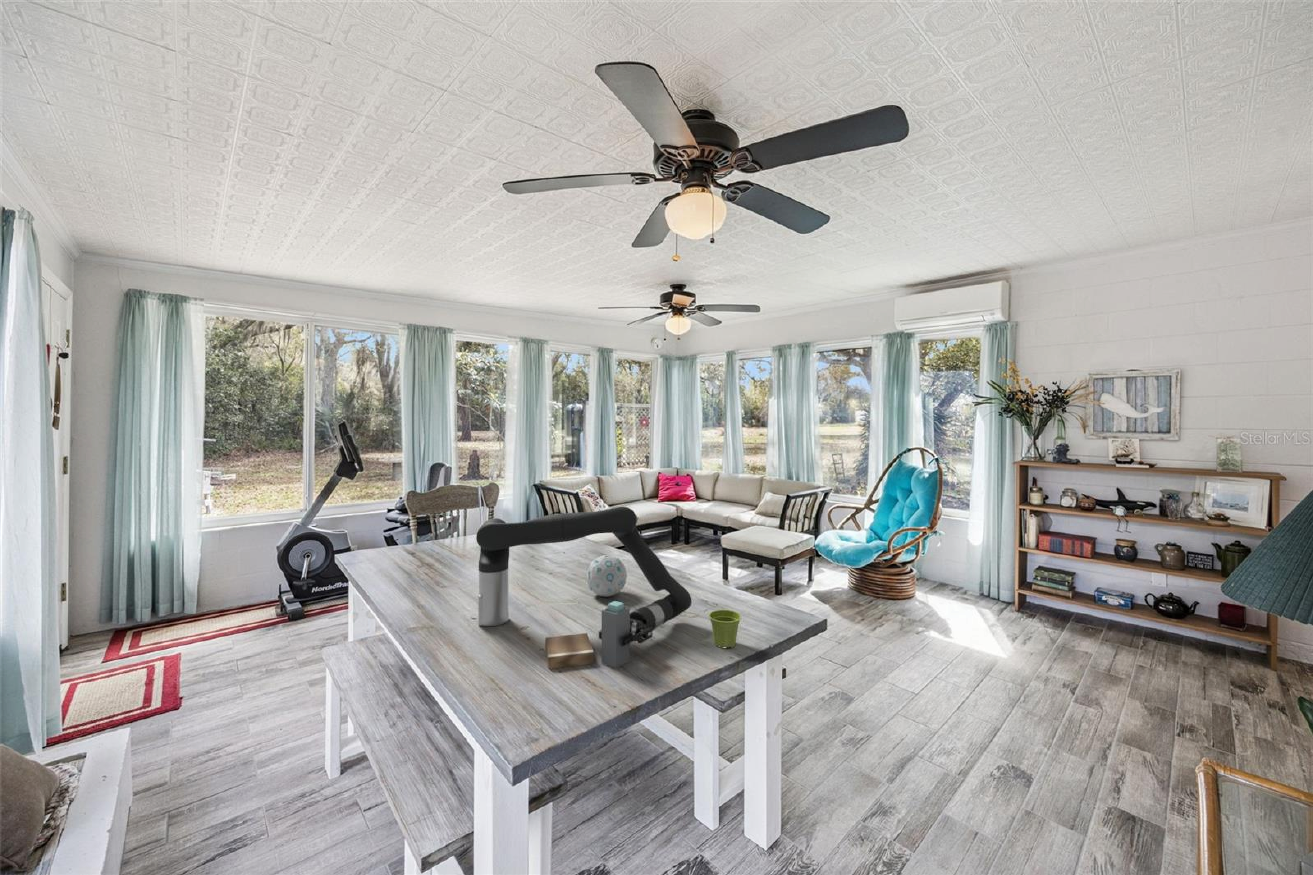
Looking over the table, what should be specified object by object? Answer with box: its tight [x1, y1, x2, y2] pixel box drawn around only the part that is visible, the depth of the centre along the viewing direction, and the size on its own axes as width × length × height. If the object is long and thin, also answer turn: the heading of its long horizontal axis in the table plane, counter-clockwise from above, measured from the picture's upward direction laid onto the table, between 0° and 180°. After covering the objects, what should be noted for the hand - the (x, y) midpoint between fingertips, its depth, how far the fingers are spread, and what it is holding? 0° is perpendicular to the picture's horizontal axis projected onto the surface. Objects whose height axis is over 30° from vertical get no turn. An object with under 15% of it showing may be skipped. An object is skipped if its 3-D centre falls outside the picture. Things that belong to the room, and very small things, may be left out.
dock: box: [544, 632, 595, 670], centre depth 143 cm, size 12×13×3 cm
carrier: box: [601, 605, 631, 669], centre depth 139 cm, size 6×5×14 cm
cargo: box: [607, 600, 625, 613], centre depth 139 cm, size 3×3×3 cm
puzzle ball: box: [586, 554, 628, 598], centre depth 192 cm, size 15×15×15 cm
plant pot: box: [708, 609, 742, 648], centre depth 150 cm, size 9×9×9 cm
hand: (610, 638), depth 138 cm, fingers open, 7 cm apart
